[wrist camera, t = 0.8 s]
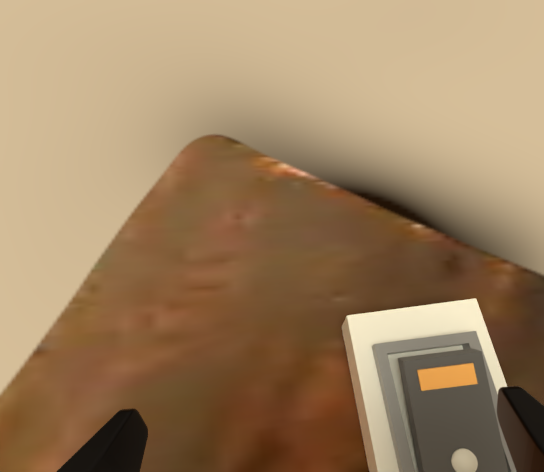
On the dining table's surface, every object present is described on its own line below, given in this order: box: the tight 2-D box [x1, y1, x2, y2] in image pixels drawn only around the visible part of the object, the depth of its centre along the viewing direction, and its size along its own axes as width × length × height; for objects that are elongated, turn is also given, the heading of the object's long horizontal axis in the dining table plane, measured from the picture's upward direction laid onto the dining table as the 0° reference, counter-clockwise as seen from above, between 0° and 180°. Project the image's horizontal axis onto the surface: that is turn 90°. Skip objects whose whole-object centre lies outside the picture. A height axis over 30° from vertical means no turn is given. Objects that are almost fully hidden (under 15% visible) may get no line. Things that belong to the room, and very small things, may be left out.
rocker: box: [398, 348, 508, 472], centre depth 19 cm, size 6×4×1 cm, turn 7°
